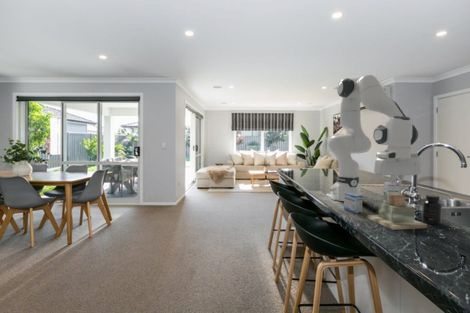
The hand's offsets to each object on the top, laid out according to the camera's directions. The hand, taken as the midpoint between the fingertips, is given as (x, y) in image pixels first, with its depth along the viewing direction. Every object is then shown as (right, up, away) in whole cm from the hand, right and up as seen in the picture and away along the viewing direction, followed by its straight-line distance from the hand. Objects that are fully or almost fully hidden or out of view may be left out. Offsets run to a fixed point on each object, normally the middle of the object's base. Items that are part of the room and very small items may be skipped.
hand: (396, 185), depth 118 cm
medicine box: (-10, -16, +20) cm, 28 cm away
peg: (0, -14, +1) cm, 14 cm away
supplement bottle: (+17, -17, +2) cm, 24 cm away
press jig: (0, -17, +1) cm, 17 cm away
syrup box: (+10, -16, +22) cm, 28 cm away
